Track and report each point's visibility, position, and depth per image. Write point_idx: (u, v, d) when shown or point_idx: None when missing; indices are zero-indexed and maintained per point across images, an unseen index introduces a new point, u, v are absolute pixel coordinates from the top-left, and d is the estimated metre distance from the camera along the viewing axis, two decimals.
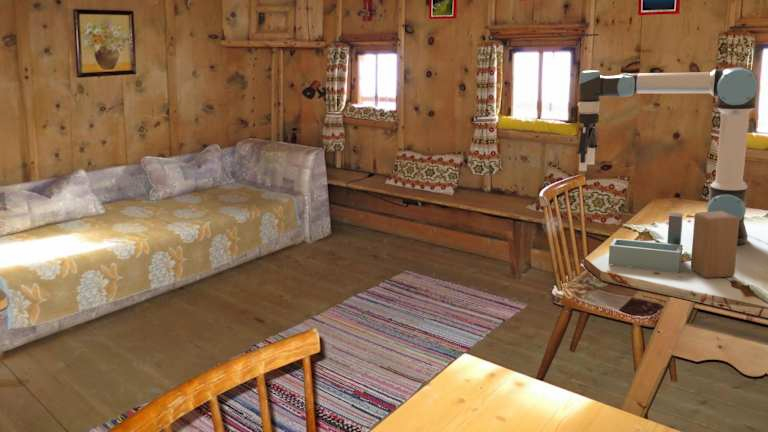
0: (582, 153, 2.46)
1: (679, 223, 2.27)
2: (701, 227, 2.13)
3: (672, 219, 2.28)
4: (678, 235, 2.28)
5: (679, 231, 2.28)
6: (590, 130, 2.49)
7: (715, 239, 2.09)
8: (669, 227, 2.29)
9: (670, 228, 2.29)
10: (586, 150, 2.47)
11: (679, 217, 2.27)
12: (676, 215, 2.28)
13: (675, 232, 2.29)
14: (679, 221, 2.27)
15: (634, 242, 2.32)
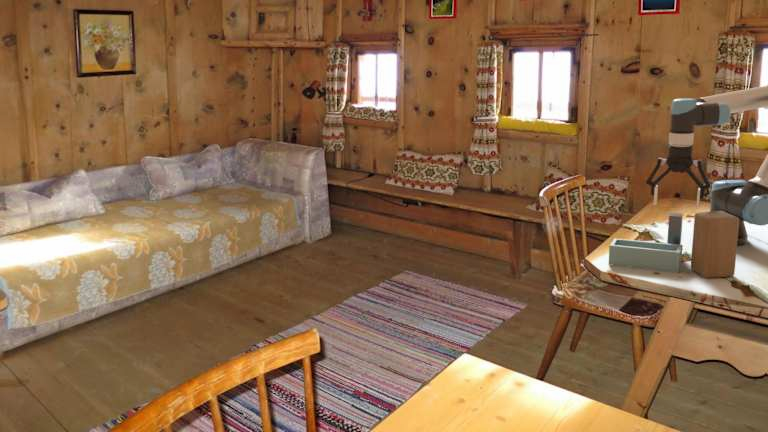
0: None
1: (679, 223, 2.27)
2: (701, 227, 2.13)
3: (672, 219, 2.28)
4: (678, 235, 2.28)
5: (679, 231, 2.28)
6: (672, 164, 2.24)
7: (715, 239, 2.09)
8: (669, 227, 2.29)
9: (670, 228, 2.29)
10: (654, 182, 2.29)
11: (679, 217, 2.27)
12: (676, 215, 2.28)
13: (675, 232, 2.29)
14: (679, 221, 2.27)
15: (634, 242, 2.32)
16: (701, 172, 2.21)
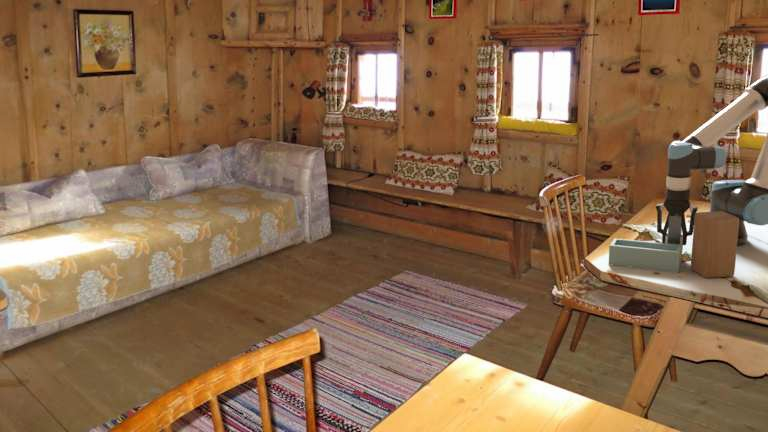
0: (660, 232, 2.33)
1: (679, 223, 2.27)
2: (701, 227, 2.13)
3: (672, 219, 2.28)
4: (678, 235, 2.28)
5: (679, 231, 2.28)
6: (670, 208, 2.28)
7: (715, 239, 2.09)
8: (669, 227, 2.29)
9: (670, 228, 2.29)
10: (664, 231, 2.31)
11: (679, 217, 2.27)
12: (676, 215, 2.28)
13: (675, 232, 2.29)
14: (679, 221, 2.27)
15: (634, 242, 2.32)
16: (691, 219, 2.26)
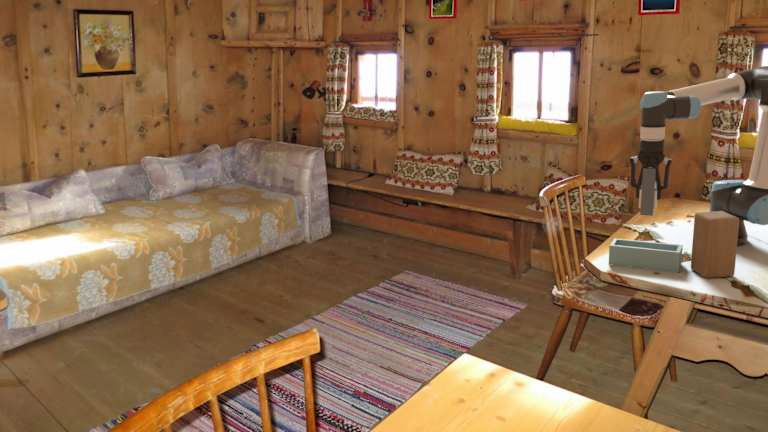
0: (634, 186, 2.24)
1: (653, 176, 2.18)
2: (701, 227, 2.13)
3: (646, 172, 2.19)
4: (652, 188, 2.19)
5: (653, 184, 2.19)
6: (644, 160, 2.19)
7: (715, 239, 2.09)
8: (643, 180, 2.20)
9: (644, 181, 2.20)
10: (638, 184, 2.22)
11: (653, 169, 2.18)
12: (650, 168, 2.19)
13: (650, 185, 2.19)
14: (653, 174, 2.18)
15: (634, 242, 2.32)
16: (666, 171, 2.17)
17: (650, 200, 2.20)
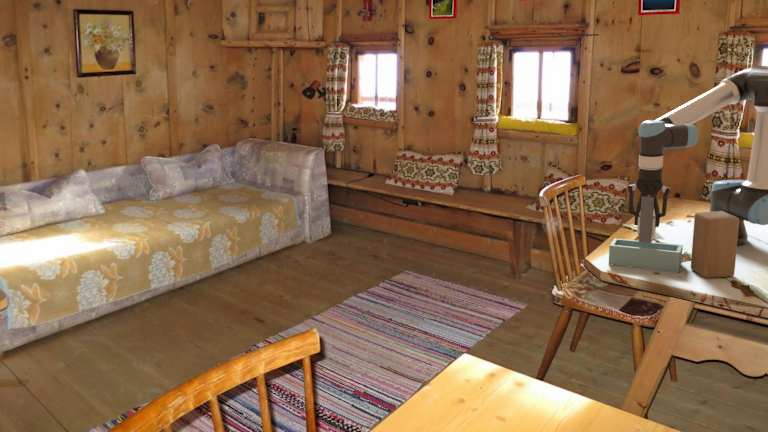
0: (633, 214, 2.26)
1: (651, 204, 2.20)
2: (701, 227, 2.13)
3: (644, 200, 2.21)
4: (650, 216, 2.22)
5: (651, 212, 2.21)
6: (642, 188, 2.21)
7: (715, 239, 2.09)
8: (641, 208, 2.22)
9: (642, 209, 2.22)
10: (636, 212, 2.24)
11: (651, 197, 2.20)
12: (648, 196, 2.21)
13: (648, 213, 2.22)
14: (651, 202, 2.20)
15: (634, 242, 2.32)
16: (664, 199, 2.19)
17: (649, 227, 2.23)
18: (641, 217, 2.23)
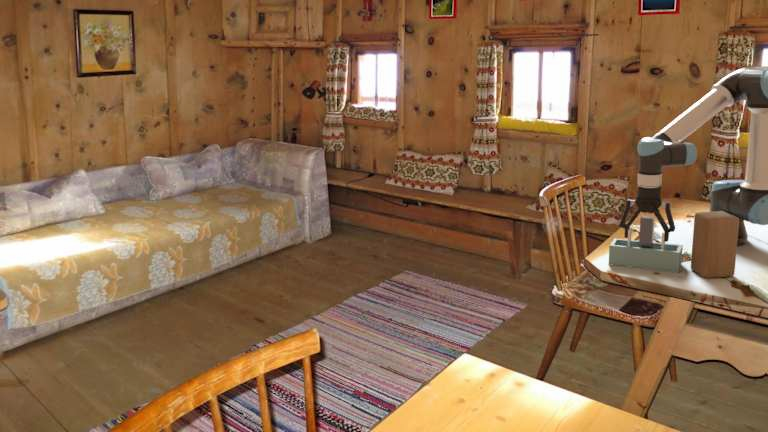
0: (623, 227, 2.29)
1: (650, 226, 2.22)
2: (701, 227, 2.13)
3: (643, 222, 2.23)
4: (650, 238, 2.24)
5: (651, 234, 2.23)
6: (641, 205, 2.23)
7: (715, 239, 2.09)
8: (640, 230, 2.24)
9: (642, 230, 2.24)
10: (627, 225, 2.27)
11: (650, 219, 2.22)
12: (647, 217, 2.23)
13: (647, 234, 2.24)
14: (650, 223, 2.22)
15: (634, 242, 2.32)
16: (668, 215, 2.20)
17: None
18: (640, 238, 2.25)
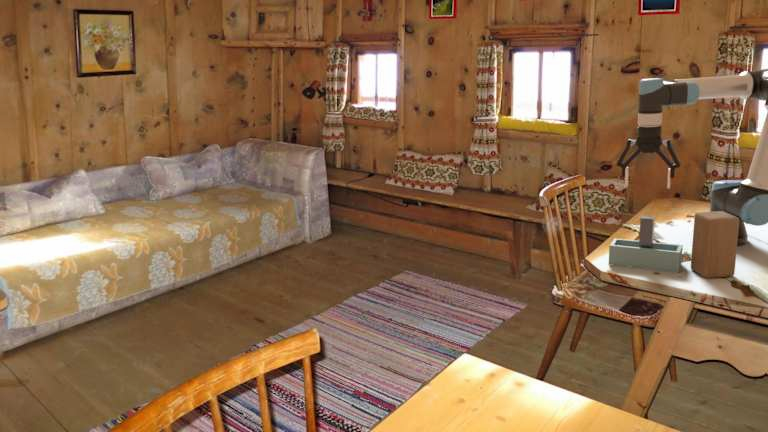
0: (620, 166, 2.29)
1: (650, 226, 2.22)
2: (701, 227, 2.13)
3: (643, 222, 2.23)
4: (650, 238, 2.24)
5: (651, 234, 2.23)
6: (641, 145, 2.23)
7: (715, 239, 2.09)
8: (640, 230, 2.24)
9: (642, 230, 2.24)
10: (625, 164, 2.28)
11: (650, 219, 2.22)
12: (647, 217, 2.23)
13: (647, 234, 2.24)
14: (650, 223, 2.22)
15: (634, 242, 2.32)
16: (671, 152, 2.20)
17: None
18: (640, 238, 2.25)
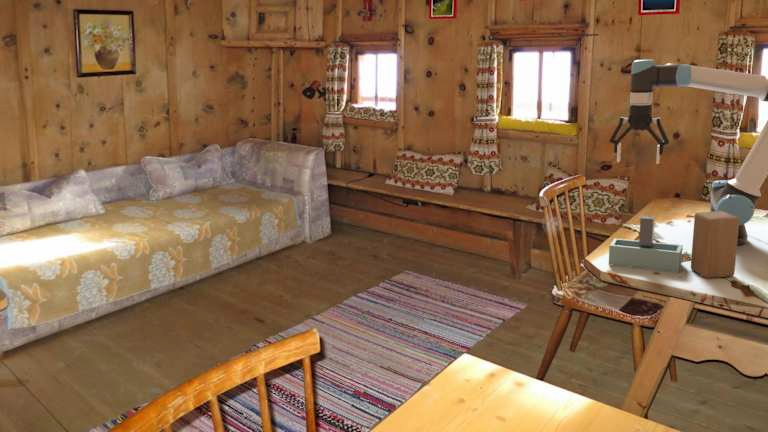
0: (612, 142, 2.44)
1: (650, 226, 2.22)
2: (701, 227, 2.13)
3: (643, 222, 2.23)
4: (650, 238, 2.24)
5: (651, 234, 2.23)
6: (633, 122, 2.38)
7: (715, 239, 2.09)
8: (640, 230, 2.24)
9: (642, 230, 2.24)
10: (617, 140, 2.42)
11: (650, 219, 2.22)
12: (647, 217, 2.23)
13: (647, 234, 2.24)
14: (650, 223, 2.22)
15: (634, 242, 2.32)
16: (660, 129, 2.34)
17: None
18: (640, 238, 2.25)
